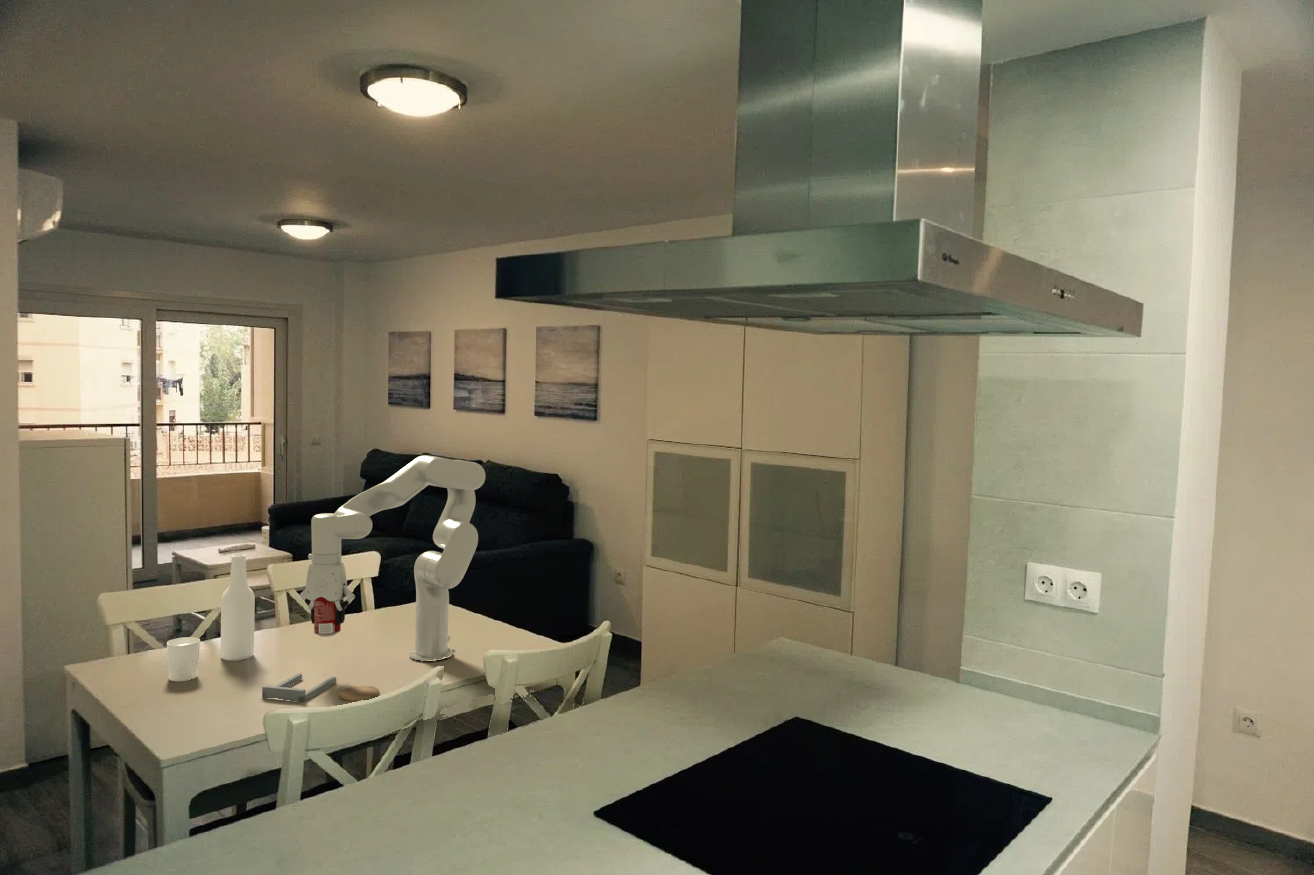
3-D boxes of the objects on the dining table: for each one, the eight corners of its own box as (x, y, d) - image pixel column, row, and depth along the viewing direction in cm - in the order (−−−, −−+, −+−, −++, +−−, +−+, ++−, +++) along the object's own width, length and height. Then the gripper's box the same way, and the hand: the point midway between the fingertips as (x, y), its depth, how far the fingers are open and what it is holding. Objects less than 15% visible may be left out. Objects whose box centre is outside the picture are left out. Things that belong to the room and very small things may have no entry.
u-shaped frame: (298, 678, 234) (298, 667, 234) (336, 682, 233) (336, 671, 233) (262, 698, 219) (262, 686, 219) (302, 702, 217) (302, 690, 217)
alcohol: (213, 659, 249) (214, 556, 247) (235, 651, 257) (237, 551, 256) (238, 662, 246) (240, 559, 245) (260, 654, 255) (262, 554, 253)
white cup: (165, 683, 227) (166, 646, 226) (166, 675, 234) (167, 638, 233) (199, 680, 231) (199, 643, 230) (199, 671, 237) (200, 635, 237)
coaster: (350, 686, 230) (350, 684, 230) (385, 689, 228) (385, 687, 228) (330, 699, 220) (330, 696, 220) (367, 702, 218) (367, 700, 218)
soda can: (334, 637, 234) (334, 594, 233) (310, 637, 234) (309, 594, 233) (344, 630, 240) (343, 588, 240) (320, 630, 241) (319, 588, 240)
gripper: (289, 560, 233) (291, 625, 235) (349, 563, 231) (350, 628, 232) (305, 554, 241) (306, 617, 242) (363, 557, 238) (364, 620, 239)
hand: (327, 622), depth 237 cm, fingers closed on soda can, 6 cm apart
